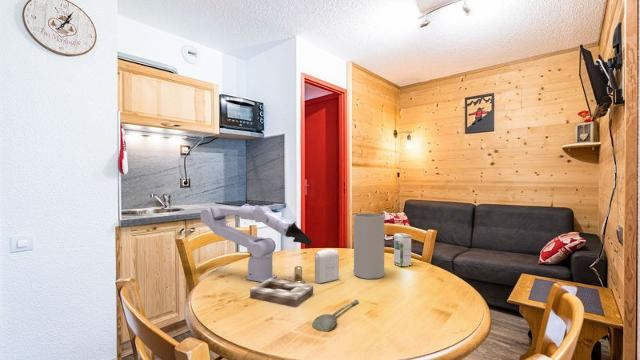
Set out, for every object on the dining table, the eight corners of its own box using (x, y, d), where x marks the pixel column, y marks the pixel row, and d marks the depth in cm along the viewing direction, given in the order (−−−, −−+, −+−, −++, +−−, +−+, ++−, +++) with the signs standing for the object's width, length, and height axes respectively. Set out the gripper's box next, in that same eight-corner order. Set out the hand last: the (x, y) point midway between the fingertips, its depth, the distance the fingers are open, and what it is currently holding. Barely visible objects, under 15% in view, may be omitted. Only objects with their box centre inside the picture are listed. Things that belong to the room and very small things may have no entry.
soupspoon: (307, 331, 84) (326, 339, 81) (307, 319, 84) (327, 327, 80) (348, 301, 102) (366, 307, 98) (348, 291, 102) (366, 297, 98)
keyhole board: (250, 297, 105) (250, 288, 105) (270, 286, 116) (270, 278, 116) (296, 307, 97) (296, 297, 97) (313, 294, 108) (313, 285, 108)
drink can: (393, 264, 145) (393, 233, 144) (403, 263, 147) (403, 232, 147) (401, 267, 139) (401, 235, 139) (411, 266, 142) (411, 234, 142)
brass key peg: (289, 283, 119) (289, 268, 119) (296, 279, 123) (296, 264, 123) (300, 285, 117) (300, 269, 117) (306, 281, 121) (306, 266, 121)
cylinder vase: (382, 270, 135) (382, 213, 135) (385, 280, 123) (385, 217, 122) (353, 269, 136) (353, 213, 136) (354, 279, 124) (354, 216, 124)
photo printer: (334, 276, 127) (334, 246, 127) (340, 279, 123) (340, 248, 123) (313, 281, 121) (312, 250, 121) (319, 284, 118) (319, 252, 118)
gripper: (279, 210, 116) (309, 227, 111) (290, 220, 129) (317, 236, 124) (269, 226, 114) (299, 244, 109) (281, 235, 127) (308, 251, 122)
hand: (308, 241), depth 117 cm, fingers open, 7 cm apart
